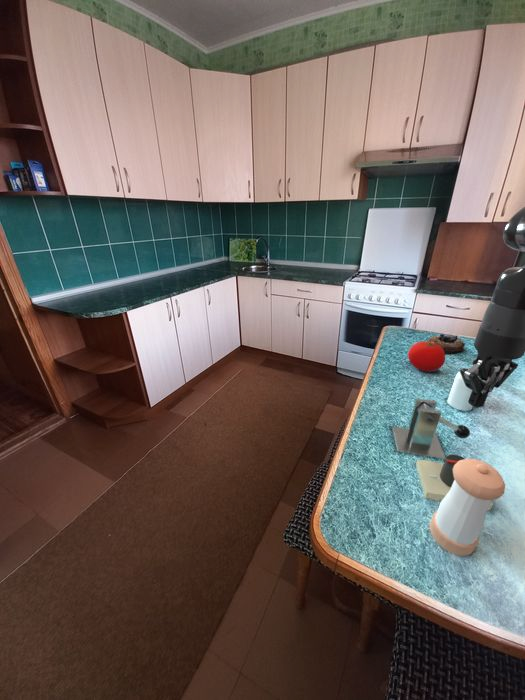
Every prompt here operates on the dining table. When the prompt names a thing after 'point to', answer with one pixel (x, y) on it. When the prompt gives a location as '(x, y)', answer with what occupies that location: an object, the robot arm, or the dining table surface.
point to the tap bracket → (420, 432)
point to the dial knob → (449, 469)
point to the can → (459, 394)
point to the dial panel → (433, 480)
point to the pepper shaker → (466, 506)
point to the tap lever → (450, 424)
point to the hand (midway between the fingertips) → (475, 404)
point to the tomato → (426, 356)
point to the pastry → (449, 343)
